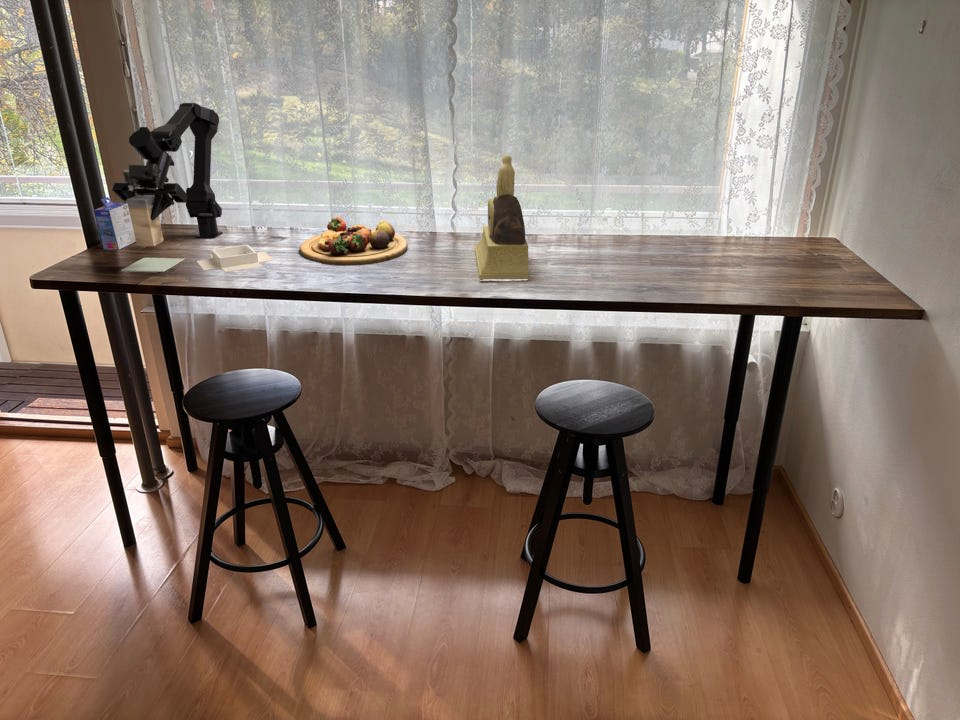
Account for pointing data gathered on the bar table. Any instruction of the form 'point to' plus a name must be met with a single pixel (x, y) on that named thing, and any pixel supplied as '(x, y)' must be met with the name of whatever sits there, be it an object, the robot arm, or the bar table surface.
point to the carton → (234, 258)
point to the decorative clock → (503, 233)
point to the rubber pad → (152, 265)
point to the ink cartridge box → (114, 225)
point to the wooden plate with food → (354, 244)
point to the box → (144, 221)
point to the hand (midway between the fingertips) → (142, 219)
